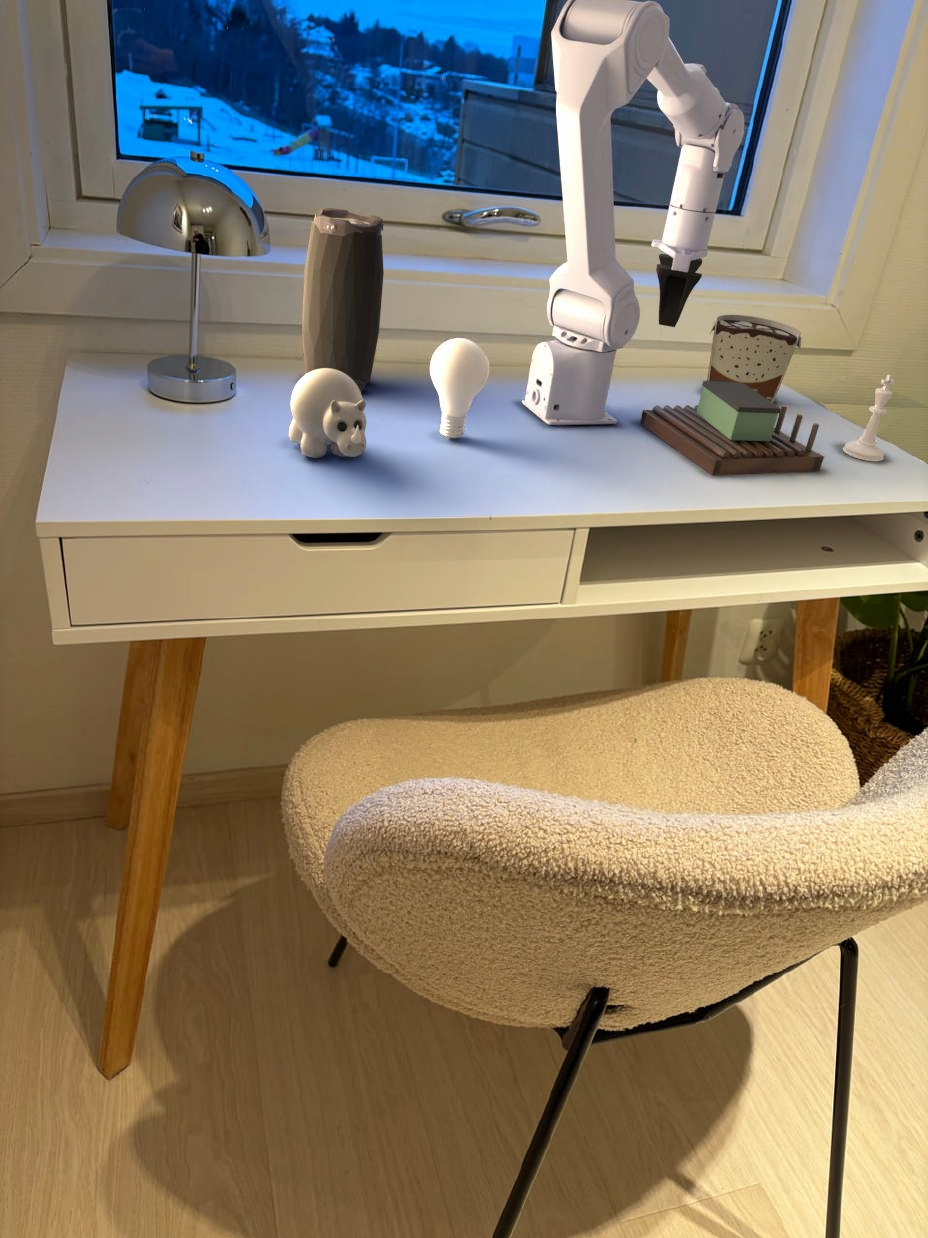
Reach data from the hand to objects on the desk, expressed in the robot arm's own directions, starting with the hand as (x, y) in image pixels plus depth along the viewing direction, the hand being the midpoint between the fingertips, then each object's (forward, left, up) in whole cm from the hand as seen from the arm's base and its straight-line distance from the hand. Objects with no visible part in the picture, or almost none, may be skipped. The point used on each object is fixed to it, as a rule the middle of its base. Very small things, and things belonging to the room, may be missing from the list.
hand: (667, 318), depth 132 cm
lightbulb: (-35, -15, -10) cm, 39 cm away
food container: (+14, 0, -10) cm, 17 cm away
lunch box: (-1, -20, -7) cm, 21 cm away
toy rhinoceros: (-50, -20, -10) cm, 55 cm away
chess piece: (+17, -23, -10) cm, 30 cm away
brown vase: (-43, +3, -10) cm, 44 cm away
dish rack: (-1, -20, -10) cm, 22 cm away
